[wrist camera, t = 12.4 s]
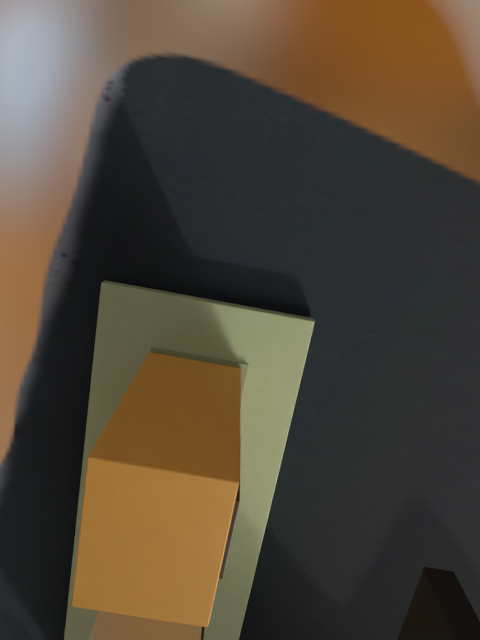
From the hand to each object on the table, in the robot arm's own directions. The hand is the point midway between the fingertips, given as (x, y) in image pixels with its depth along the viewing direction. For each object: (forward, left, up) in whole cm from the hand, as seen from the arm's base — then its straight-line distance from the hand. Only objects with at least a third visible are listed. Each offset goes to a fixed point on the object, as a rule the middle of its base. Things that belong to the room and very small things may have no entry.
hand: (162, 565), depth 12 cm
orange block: (0, 0, -9) cm, 9 cm away
